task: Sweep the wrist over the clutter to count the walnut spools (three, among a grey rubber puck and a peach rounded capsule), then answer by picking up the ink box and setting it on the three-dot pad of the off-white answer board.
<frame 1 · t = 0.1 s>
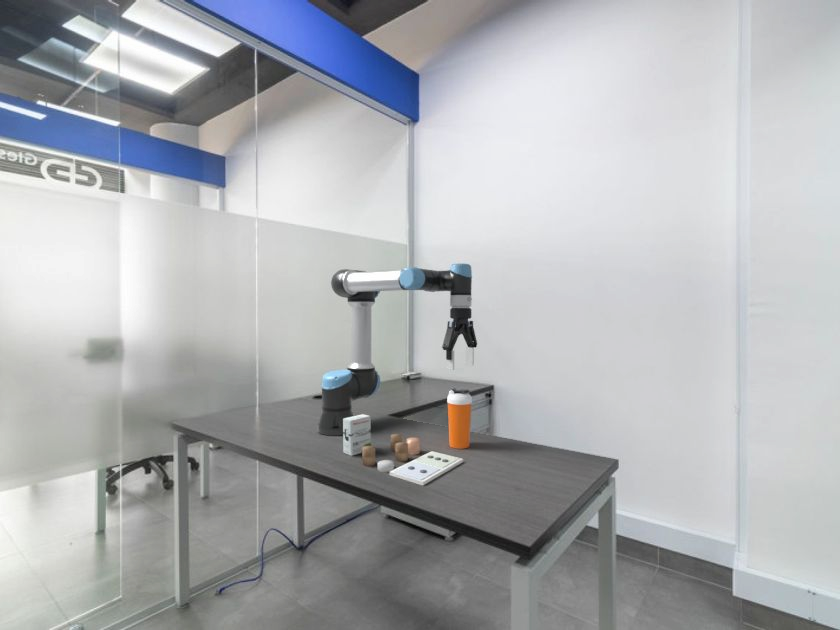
hand: (460, 367, 148), 28 cm above the table, fingers open, 13 cm apart
answer board: (427, 468, 127), on the table
rubber puck: (385, 469, 126), on the table
peach rounded capsule: (413, 452, 141), on the table
shaker bottle: (459, 446, 148), on the table
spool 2: (401, 459, 134), on the table
spool 3: (396, 450, 143), on the table
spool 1: (368, 463, 130), on the table
ink box: (357, 452, 141), on the table
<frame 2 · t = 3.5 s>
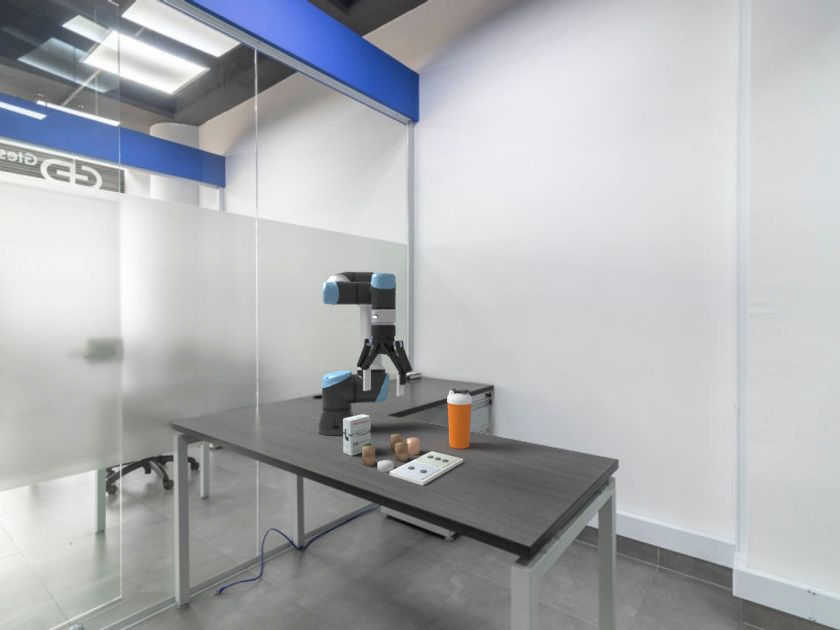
hand: (383, 392, 128), 23 cm above the table, fingers open, 13 cm apart
nothing on the table moved.
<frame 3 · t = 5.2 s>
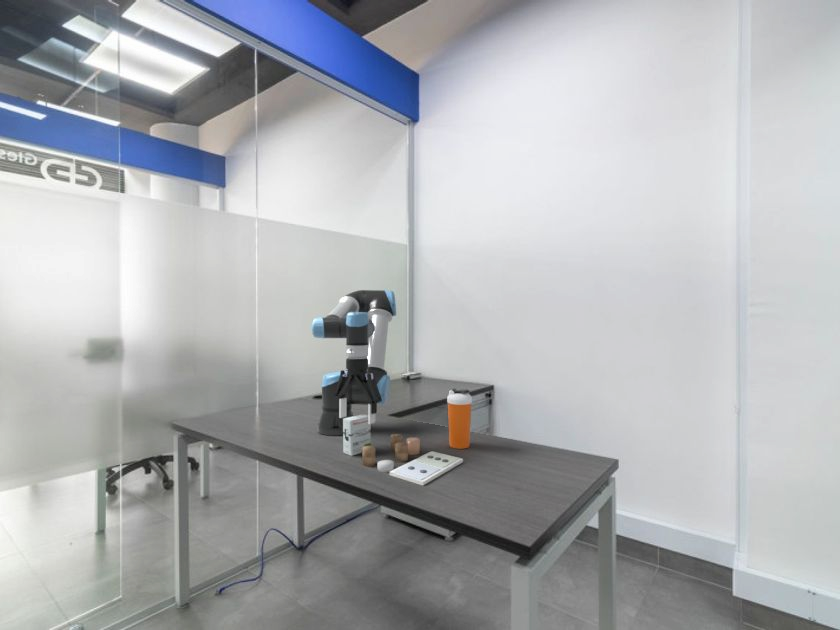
hand: (356, 420, 141), 11 cm above the table, fingers open, 13 cm apart
nothing on the table moved.
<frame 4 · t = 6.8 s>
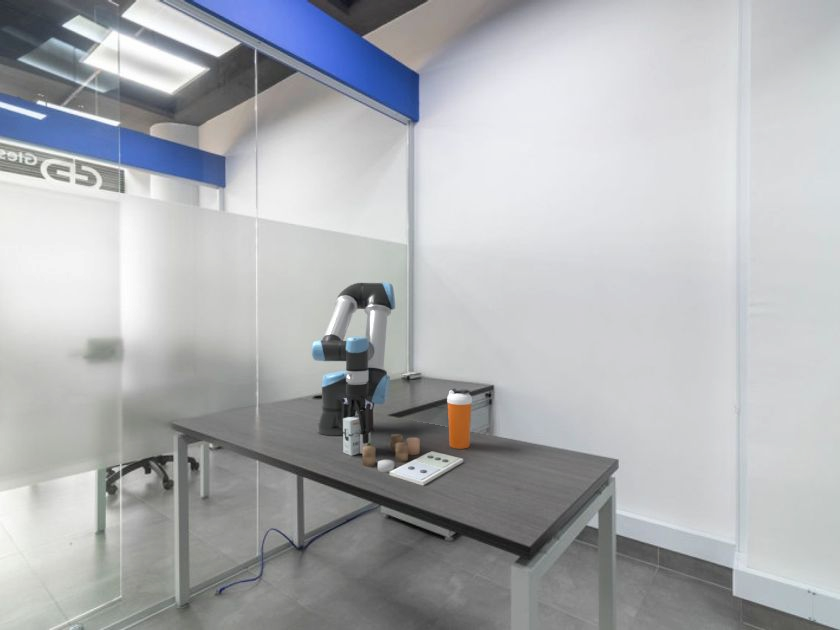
hand: (357, 450, 141), 0 cm above the table, fingers closed on ink box, 5 cm apart
ink box: (356, 451, 141), on the table, touching gripper
everything else where it was.
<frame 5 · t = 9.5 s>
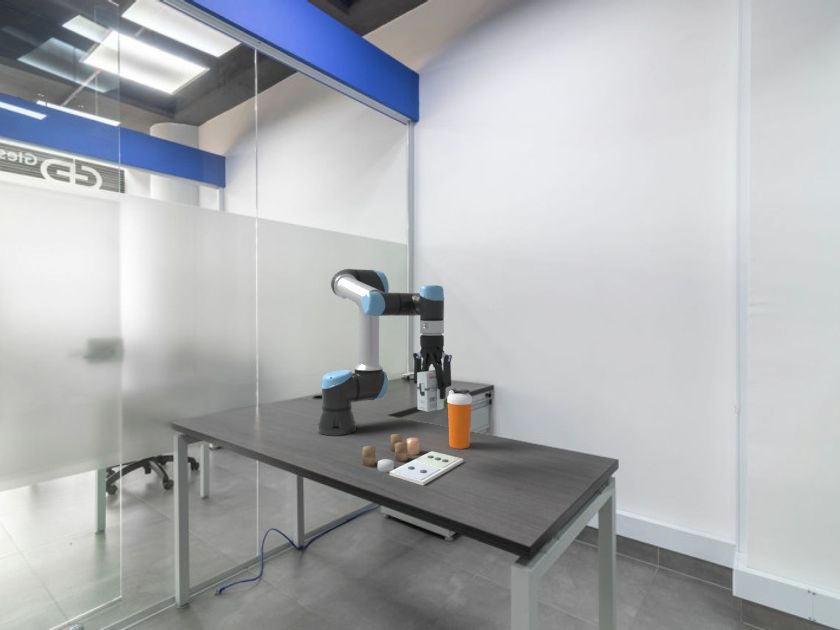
hand: (432, 407, 131), 17 cm above the table, fingers closed on ink box, 5 cm apart
ink box: (431, 409, 131), point 17 cm above the table, touching gripper
everything else where it was.
when the fingers open (3 cm above the table, at t = 12.6 s): ink box drops 2 cm, resting on answer board.
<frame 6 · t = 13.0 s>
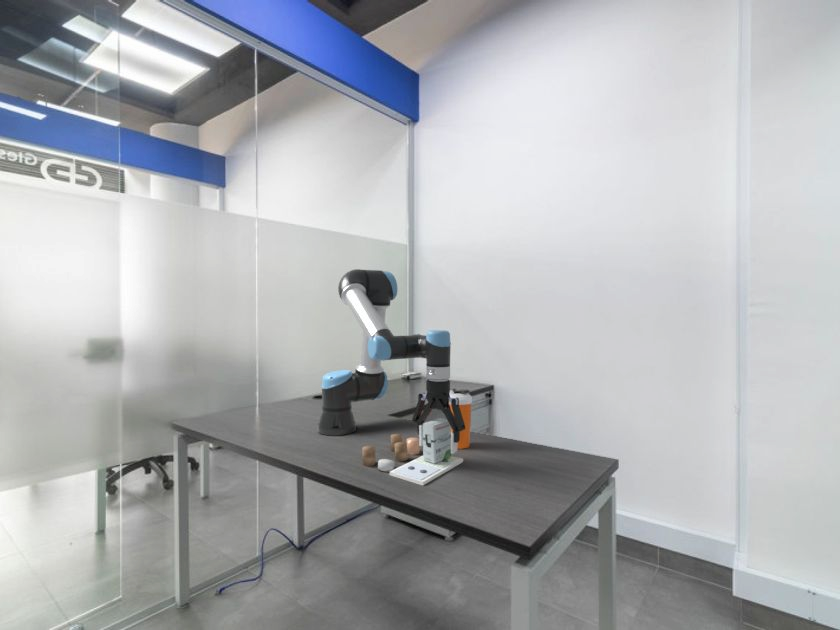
hand: (437, 448, 131), 5 cm above the table, fingers open, 11 cm apart
ink box: (437, 459, 131), point 1 cm above the table, touching answer board
everything else where it was.
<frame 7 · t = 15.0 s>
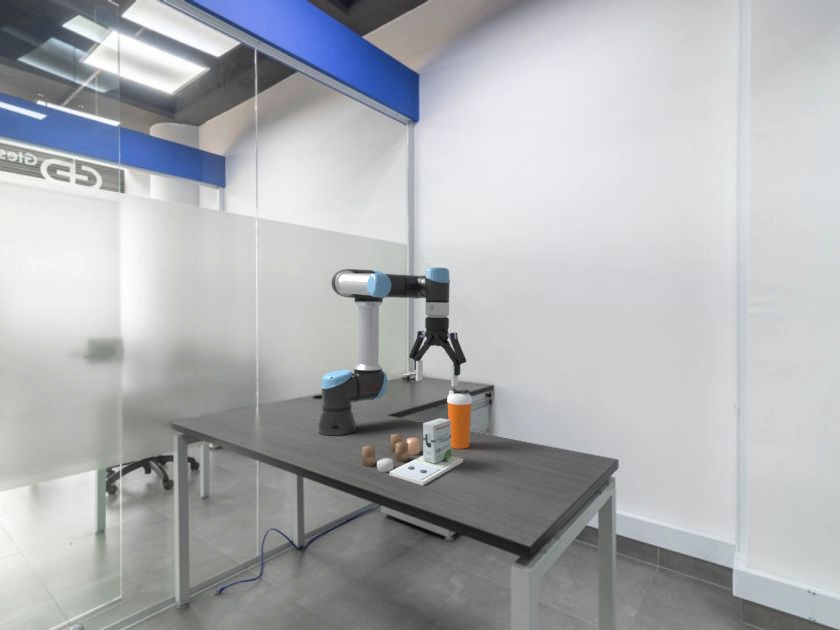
hand: (436, 383, 132), 25 cm above the table, fingers open, 13 cm apart
nothing on the table moved.
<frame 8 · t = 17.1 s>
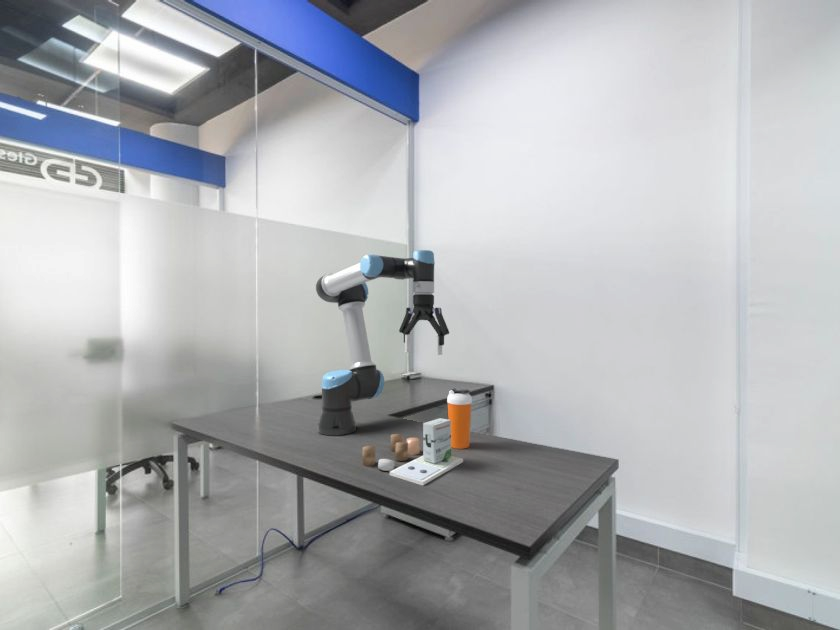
hand: (423, 353, 148), 33 cm above the table, fingers open, 13 cm apart
at the end: ink box inside the target area (0.1 cm from its centre), point 1.2 cm above the table; ink box tilted 0°; the gripper is holding nothing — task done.
